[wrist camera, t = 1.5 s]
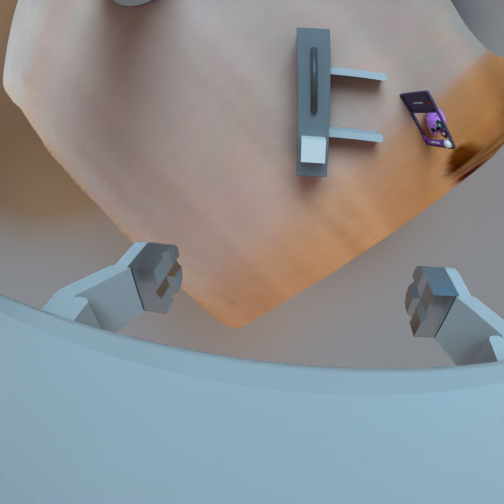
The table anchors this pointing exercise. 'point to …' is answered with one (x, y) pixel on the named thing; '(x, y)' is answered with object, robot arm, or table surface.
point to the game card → (428, 117)
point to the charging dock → (320, 102)
